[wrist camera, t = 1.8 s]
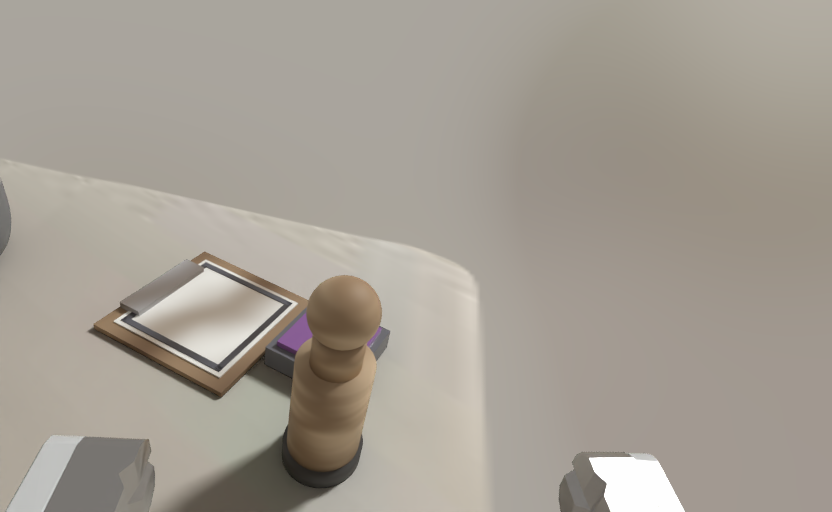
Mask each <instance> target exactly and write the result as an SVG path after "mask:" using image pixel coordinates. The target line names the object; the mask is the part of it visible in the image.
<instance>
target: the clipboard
mask: <svg viewBox="0 0 832 512" xmlns="http://www.w3.org/2000/svg"><path fill="white" fill-rule="evenodd" d="M308 301H309V300H307V299H304V298H302V297H300V296H298V295H296V294H294V293H292V292H290V291H287V290H285V289H283V288H281V287H279V286H277V285H275V284H272V283H270V282H268V281H266V280H264V279H262V278H260V277H258V276H255V275H253V274H251V273H249V272H247V271H245V270H243V269H241V268H238V267H236V266H234V265H232V264H230V263H228V262H226V261H224V260H221V259H219V258H217V257H215V256H213V255H211V254H209V253H206V252H203V253H202V254H200V255H199V256H197V257H196V258H194V259H192V260H191V261H190V260H187V259H186V260H184V261H183V262H181V263H180V264H178V265H177V266H175V267H174V268H172V269H170V270H169V271H167V272H166V273H164V274H163V275H161V276H160V277H158V278H156V279H155V280H153V281H152V282H150V283H149V284H147V285H146V286H144V287H142V288H141V289H139V290H138V291H136V292H135V293H133V294H132V295H130V296H128V297H127V298H125V299H124V300H122V301H121V302H120V307H119V308H117V309H116V310H114V311H113V312H111V313H110V314H108V315H107V316H105V317H104V318H102V319H101V320H99V321H97V322H96V323H94V324H93V325H94V329H96V330H98V331H100V332H101V333H103V334H105V335H107V336H109V337H111V338H112V339H114V340H116V341H118V342H120V343H122V344H124V345H125V346H127V347H129V348H131V349H133V350H135V351H137V352H138V353H140V354H142V355H144V356H146V357H148V358H150V359H151V360H153V361H155V362H157V363H159V364H161V365H162V366H164V367H166V368H168V369H170V370H172V371H174V372H175V373H177V374H179V375H181V376H183V377H185V378H187V379H188V380H190V381H192V382H194V383H196V384H198V385H200V386H201V387H203V388H205V389H207V390H209V391H211V392H212V393H214V394H216V395H218V396H220V397H222V396H223V395H224V394H225V393H226V392H227V391H228V390H229V389H230V388H231V387H232V386H233V385H234V384H235V383H236V382H237V381H238V380H239V379H240V378H241V377H242V376H243V375H244V374H245V373H246V372H247V371H248V370H250V369H251V368H252V367H253V366H254V365H255V364H256V363H257V362H258V361H259V360H260V359H261V358H262V357H263V356H264V355H265V347H266V346H267V345H268V344H269V343H270V342H271V341H272V340H273V339H274V338H275V337H276V336H277V335H278V334H279V333H280V332H281V331H282V330H283V329H284V328H285V327H286V326H287V325H288V324H289V323H290V322H292V321H293V320H294V319H295V318H296V317H297V316H298V315H299V314H300V313H301V312H302V311H303V310H304V309H305V308H306V307H307V304H308Z"/></svg>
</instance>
